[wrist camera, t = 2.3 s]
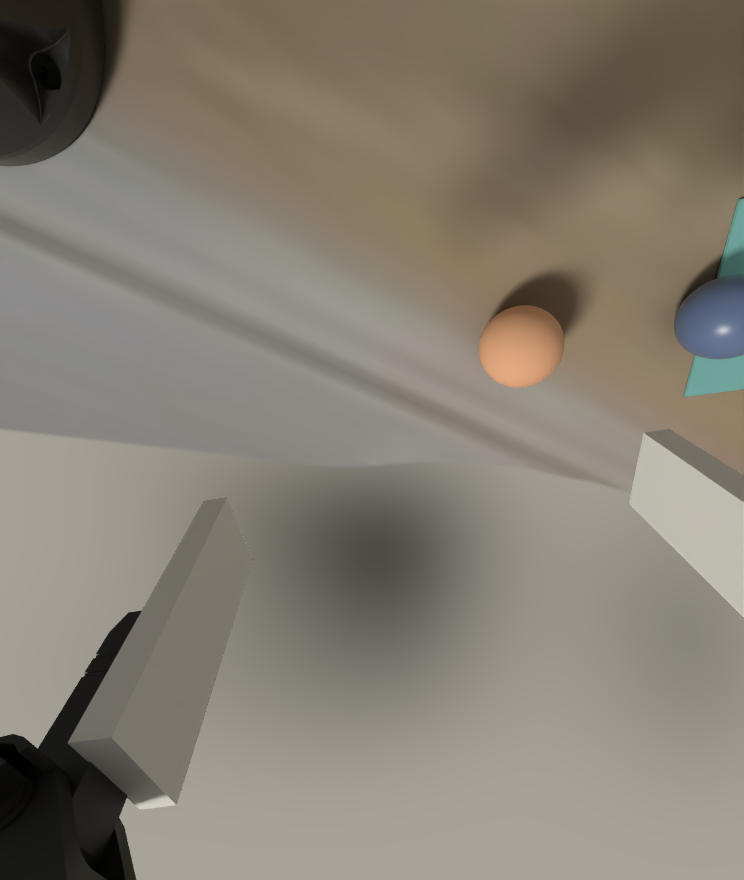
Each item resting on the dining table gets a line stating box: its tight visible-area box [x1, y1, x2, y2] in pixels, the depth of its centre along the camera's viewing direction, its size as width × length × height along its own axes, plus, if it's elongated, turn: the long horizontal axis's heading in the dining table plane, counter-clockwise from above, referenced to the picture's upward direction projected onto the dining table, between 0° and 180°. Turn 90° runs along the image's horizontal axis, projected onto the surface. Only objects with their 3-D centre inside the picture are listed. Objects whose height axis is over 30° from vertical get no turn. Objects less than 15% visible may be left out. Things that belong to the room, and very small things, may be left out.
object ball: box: [674, 275, 744, 360], centre depth 26 cm, size 6×6×6 cm
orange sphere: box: [479, 305, 564, 387], centre depth 27 cm, size 6×6×6 cm
